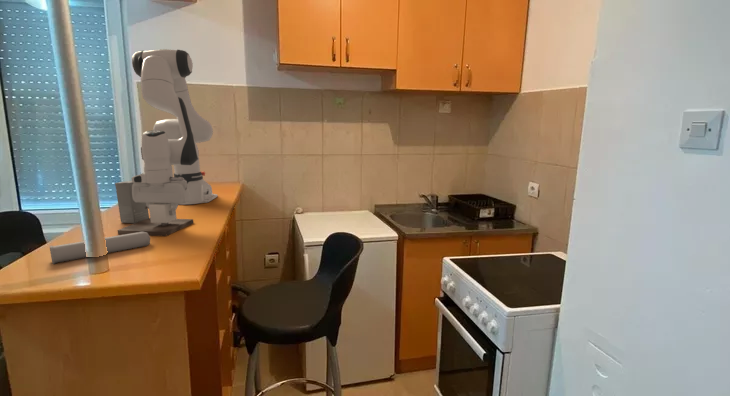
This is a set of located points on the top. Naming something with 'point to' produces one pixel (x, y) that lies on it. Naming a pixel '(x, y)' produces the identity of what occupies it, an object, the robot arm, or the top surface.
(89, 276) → the top surface
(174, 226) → the peg board
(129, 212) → the skincare box
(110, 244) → the tube
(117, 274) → the top surface
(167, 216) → the grey cube
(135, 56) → the robot arm
